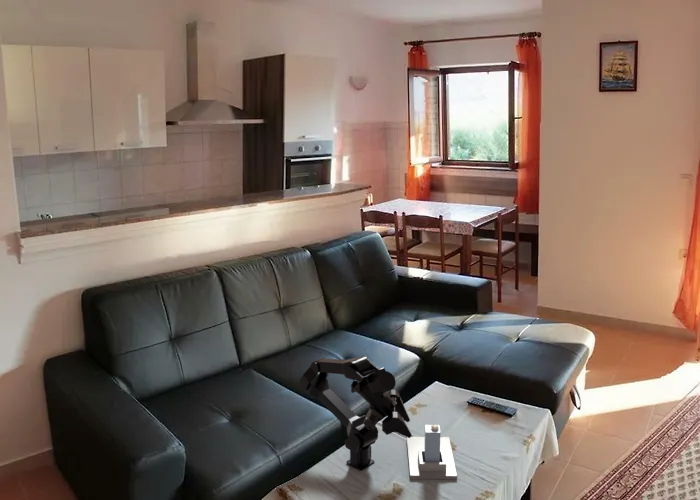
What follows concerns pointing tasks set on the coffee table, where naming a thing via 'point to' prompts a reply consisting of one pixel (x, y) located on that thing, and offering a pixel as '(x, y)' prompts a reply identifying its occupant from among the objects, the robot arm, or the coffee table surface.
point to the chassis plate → (430, 469)
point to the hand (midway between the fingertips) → (409, 428)
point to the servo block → (432, 443)
